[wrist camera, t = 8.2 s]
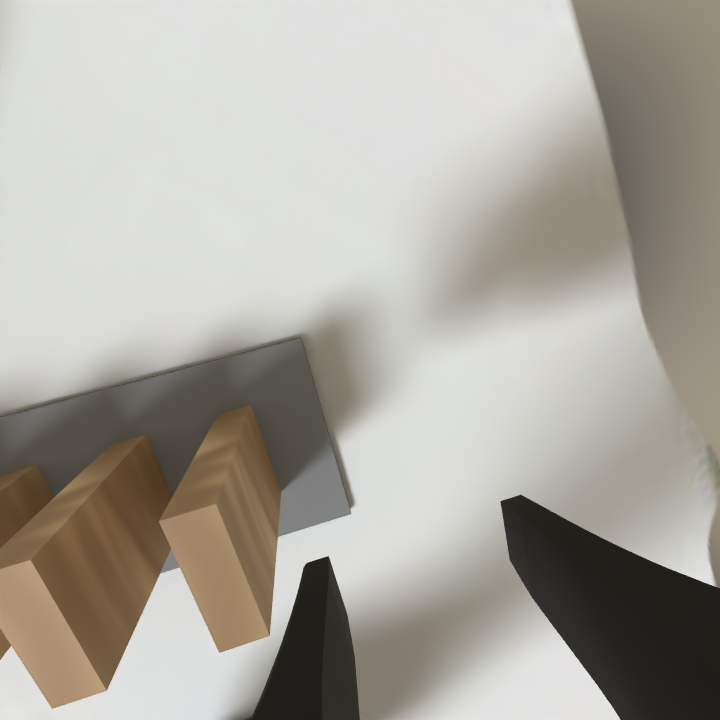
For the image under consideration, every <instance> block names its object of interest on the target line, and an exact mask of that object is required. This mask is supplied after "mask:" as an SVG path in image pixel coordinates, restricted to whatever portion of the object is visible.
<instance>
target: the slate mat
mask: <svg viewBox="0 0 720 720" xmlns="http://www.w3.org/2000/svg"><path fill="white" fill-rule="evenodd" d="M249 405H251V406H252V409H253V412H254V415H255V418H256V420H257V423H258V426H259V429H260V432H261V435H262V438H263V441H264V443H265V446H266V449H267V452H268V455H269V458H270V461H271V464H272V466H273V469H274V472H275V475H276V478H277V481H278V484H279V487H280V489H281V502H280V514H279V526H278V537H279V536H282V535H285V534H288V533H291V532H295V531H298V530H301V529H304V528H308V527H311V526H314V525H317V524H320V523H324V522H327V521H330V520H333V519H337V518H340V517H343V516H346V515H349V514H351V511H350V507H349V503H348V500H347V496H346V493H345V489H344V486H343V482H342V479H341V475H340V472H339V468H338V465H337V462H336V458H335V455H334V451H333V448H332V444H331V441H330V437H329V434H328V430H327V427H326V423H325V420H324V416H323V413H322V409H321V406H320V402H319V399H318V395H317V392H316V389H315V385H314V382H313V378H312V375H311V371H310V368H309V364H308V361H307V357H306V354H305V350H304V347H303V343H302V340H301V338H297V339H293V340H290V341H286V342H282V343H278V344H275V345H271V346H267V347H263V348H259V349H256V350H252V351H248V352H244V353H241V354H237V355H233V356H229V357H226V358H222V359H218V360H214V361H210V362H207V363H203V364H199V365H195V366H192V367H188V368H184V369H180V370H176V371H173V372H169V373H165V374H161V375H158V376H154V377H150V378H146V379H143V380H139V381H135V382H131V383H127V384H124V385H120V386H116V387H112V388H109V389H105V390H101V391H97V392H93V393H90V394H86V395H82V396H78V397H75V398H71V399H67V400H63V401H59V402H56V403H52V404H48V405H44V406H41V407H37V408H33V409H29V410H26V411H22V412H18V413H14V414H10V415H7V416H3V417H0V475H1V474H5V473H9V472H12V471H16V470H19V469H23V468H27V467H30V466H34V465H37V467H38V469H39V471H40V473H41V475H42V477H43V479H44V480H45V482H46V484H47V486H48V488H49V490H50V492H51V494H52V495H53V497H55V496H57V495H58V494H59V493H60V492H61V491H62V490H63V489H64V488H65V487H66V486H67V485H68V484H69V483H70V482H71V481H73V480H74V479H75V478H76V477H77V476H78V475H79V474H80V473H81V472H82V471H83V470H84V469H85V468H86V467H87V466H89V465H90V464H91V463H92V462H93V461H94V460H95V459H96V458H97V457H98V456H99V455H100V454H101V453H102V452H103V451H104V450H106V449H107V448H108V447H109V446H110V445H111V444H113V443H117V442H120V441H124V440H127V439H131V438H135V437H138V436H142V435H145V434H146V435H147V438H148V440H149V442H150V445H151V447H152V449H153V452H154V454H155V456H156V459H157V461H158V463H159V466H160V468H161V470H162V472H163V475H164V477H165V479H166V482H167V484H168V486H169V489H170V491H171V493H172V496H173V495H174V493H175V491H176V489H177V487H178V486H179V484H180V482H181V480H182V478H183V477H184V475H185V473H186V471H187V469H188V468H189V466H190V464H191V462H192V460H193V459H194V457H195V455H196V453H197V451H198V450H199V448H200V446H201V444H202V442H203V441H204V439H205V437H206V435H207V433H208V432H209V430H210V428H211V426H212V424H213V423H214V421H215V419H216V417H217V415H218V414H220V413H224V412H227V411H231V410H234V409H238V408H241V407H245V406H249ZM179 567H180V566H179V564H178V562H177V560H176V558H175V555H174V553H173V551H172V549H171V550H170V553H169V555H168V557H167V559H166V561H165V564H164V566H163V568H162V570H161V572H160V573H163V572H166V571H169V570H172V569H176V568H179Z"/></svg>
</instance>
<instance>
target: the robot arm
mask: <svg viewBox="0 0 720 720" xmlns="http://www.w3.org/2000/svg"><path fill="white" fill-rule="evenodd" d="M501 507H502V513H503V520H504V526H505V532H506V538H507V545H508V551H509V557H510V561H511V563H512V564H513V566H514V568H515V570H516V571H517V573H518V575H519V576H520V578H521V580H522V582H523V583H524V585H525V587H526V588H527V590H528V591H529V593H530V595H531V596H532V598H533V599H534V601H535V602H536V603H537V605H538V606H539V607H540V609H541V610H542V612H543V613H544V614H545V616H546V617H547V618H548V620H549V621H550V622H551V624H552V625H553V626H554V628H555V629H556V630H557V632H558V633H559V634H560V636H561V637H562V638H563V640H564V641H565V642H566V644H567V645H568V647H569V648H570V649H571V651H572V652H573V653H574V655H575V656H576V657H577V659H578V660H579V661H580V663H581V664H582V665H583V667H584V668H585V669H586V671H587V672H588V673H589V675H590V676H591V677H592V679H593V680H594V681H595V683H596V684H597V685H598V687H599V688H600V690H601V691H602V692H603V694H604V695H605V697H606V698H607V700H608V701H609V703H610V704H611V705H612V707H613V708H614V710H615V711H616V713H617V715H618V716H619V718H620V719H621V720H720V588H717V587H715V586H712V585H709V584H706V583H704V582H701V581H699V580H696V579H694V578H691V577H688V576H686V575H683V574H681V573H678V572H676V571H673V570H671V569H668V568H666V567H663V566H661V565H659V564H656V563H654V562H652V561H649V560H647V559H645V558H643V557H641V556H638V555H636V554H634V553H632V552H630V551H628V550H625V549H623V548H621V547H619V546H617V545H615V544H613V543H611V542H609V541H607V540H605V539H603V538H601V537H599V536H597V535H595V534H593V533H591V532H589V531H587V530H585V529H583V528H581V527H579V526H577V525H575V524H573V523H572V522H570V521H568V520H566V519H564V518H562V517H561V516H559V515H557V514H555V513H553V512H551V511H550V510H548V509H546V508H544V507H542V506H541V505H539V504H537V503H535V502H533V501H531V500H530V499H528V498H526V497H524V496H522V495H519V496H516V497H512V498H509V499H506V500H503V501H501ZM251 720H360V719H359V706H358V693H357V681H356V668H355V657H354V651H353V645H352V639H351V633H350V628H349V622H348V616H347V612H346V609H345V606H344V603H343V600H342V597H341V593H340V590H339V587H338V584H337V581H336V578H335V575H334V572H333V568H332V565H331V562H330V559H329V556H328V557H324V558H321V559H318V560H315V561H312V562H309V563H306V565H305V566H304V568H303V573H302V577H301V581H300V585H299V589H298V593H297V596H296V600H295V603H294V606H293V610H292V613H291V616H290V619H289V622H288V625H287V628H286V631H285V634H284V637H283V640H282V643H281V646H280V649H279V652H278V654H277V657H276V659H275V662H274V665H273V667H272V670H271V672H270V675H269V678H268V680H267V683H266V685H265V688H264V690H263V693H262V695H261V697H260V700H259V702H258V704H257V707H256V709H255V711H254V714H253V716H252V718H251Z"/></svg>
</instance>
